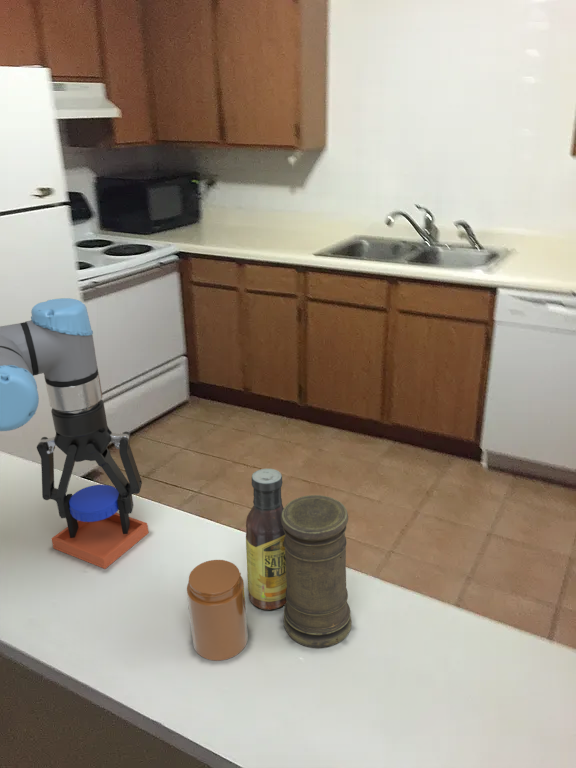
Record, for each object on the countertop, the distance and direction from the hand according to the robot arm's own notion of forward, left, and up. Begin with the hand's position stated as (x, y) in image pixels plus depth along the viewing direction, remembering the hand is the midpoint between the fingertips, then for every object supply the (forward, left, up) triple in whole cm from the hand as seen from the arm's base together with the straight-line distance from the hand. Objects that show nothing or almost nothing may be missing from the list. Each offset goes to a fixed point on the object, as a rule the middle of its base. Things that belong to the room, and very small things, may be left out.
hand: (100, 530), depth 108 cm
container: (+33, -22, -2) cm, 40 cm away
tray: (0, 0, -2) cm, 2 cm away
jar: (+20, -24, -2) cm, 31 cm away
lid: (0, 0, +6) cm, 6 cm away
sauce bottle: (+27, -16, -2) cm, 31 cm away
